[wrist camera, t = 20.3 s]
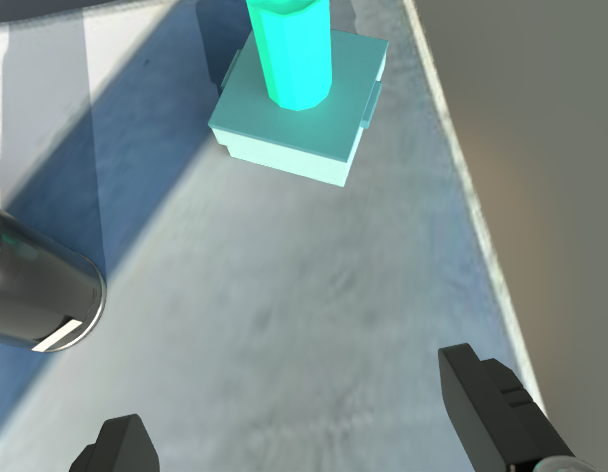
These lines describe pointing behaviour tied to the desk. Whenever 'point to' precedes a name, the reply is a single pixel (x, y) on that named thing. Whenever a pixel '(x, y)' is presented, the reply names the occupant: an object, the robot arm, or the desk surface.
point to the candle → (293, 49)
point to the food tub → (301, 111)
